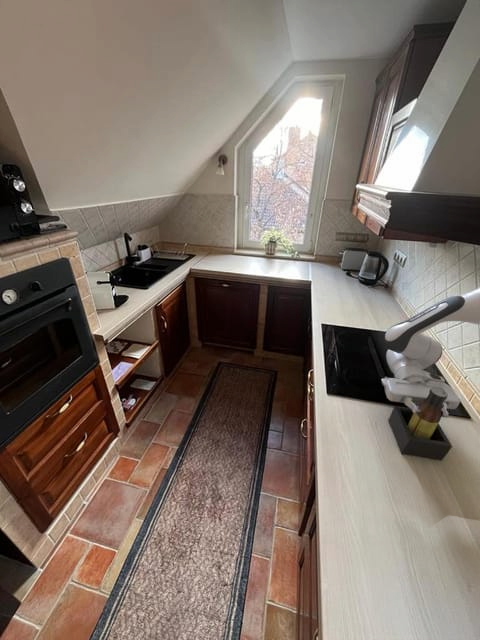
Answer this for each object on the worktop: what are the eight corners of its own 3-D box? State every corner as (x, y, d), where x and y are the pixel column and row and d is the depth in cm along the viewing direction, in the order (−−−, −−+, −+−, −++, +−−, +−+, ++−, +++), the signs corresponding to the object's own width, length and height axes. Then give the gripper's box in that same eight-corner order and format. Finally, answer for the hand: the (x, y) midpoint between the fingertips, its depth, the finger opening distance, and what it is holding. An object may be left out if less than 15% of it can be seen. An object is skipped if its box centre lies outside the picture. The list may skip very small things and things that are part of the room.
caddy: (423, 425, 86) (431, 411, 83) (441, 460, 76) (452, 446, 72) (387, 420, 88) (394, 406, 84) (401, 453, 77) (409, 439, 74)
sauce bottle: (431, 442, 80) (461, 398, 70) (417, 449, 78) (445, 404, 67) (412, 425, 85) (437, 382, 75) (399, 431, 83) (422, 387, 73)
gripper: (382, 370, 86) (397, 401, 74) (448, 377, 83) (474, 411, 71) (377, 383, 89) (390, 415, 77) (440, 391, 86) (464, 426, 75)
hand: (431, 414), depth 74 cm, fingers closed on sauce bottle, 6 cm apart
